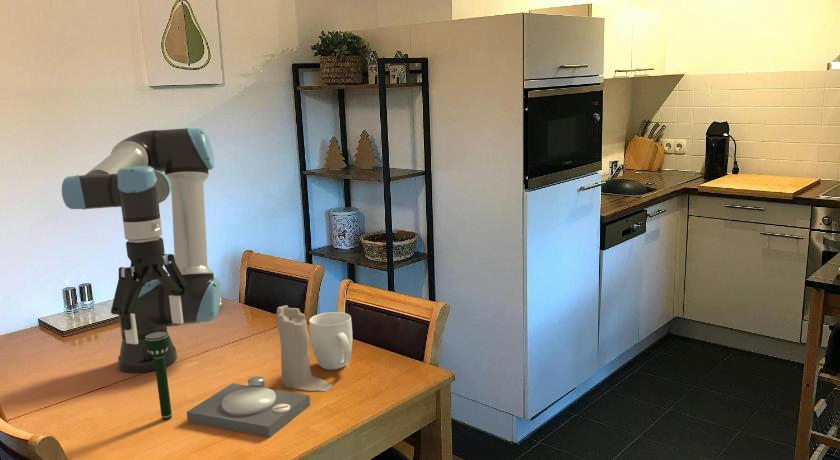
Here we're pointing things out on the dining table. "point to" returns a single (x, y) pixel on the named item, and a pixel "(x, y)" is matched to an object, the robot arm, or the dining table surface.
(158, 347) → the flashlight
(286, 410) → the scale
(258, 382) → the spacer
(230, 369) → the dining table surface
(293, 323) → the candle
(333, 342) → the mug
